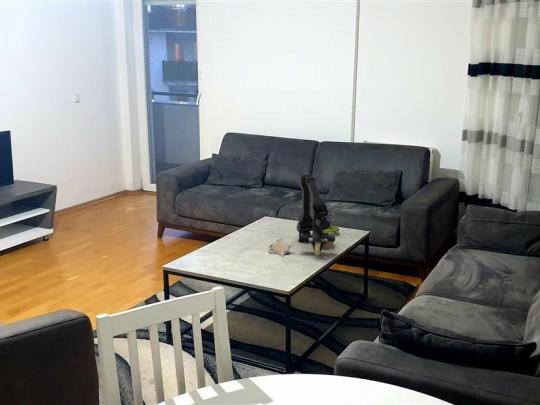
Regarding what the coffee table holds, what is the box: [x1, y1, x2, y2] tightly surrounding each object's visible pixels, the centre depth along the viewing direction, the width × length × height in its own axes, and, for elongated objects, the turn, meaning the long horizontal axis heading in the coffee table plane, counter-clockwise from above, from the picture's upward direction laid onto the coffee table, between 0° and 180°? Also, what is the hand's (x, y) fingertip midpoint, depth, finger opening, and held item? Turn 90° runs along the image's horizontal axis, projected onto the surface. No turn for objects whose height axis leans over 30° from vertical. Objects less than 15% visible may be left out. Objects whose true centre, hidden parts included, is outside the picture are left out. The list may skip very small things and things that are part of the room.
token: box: [314, 244, 321, 256], centre depth 332 cm, size 2×5×5 cm, turn 172°
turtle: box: [267, 237, 296, 257], centre depth 334 cm, size 16×10×10 cm, turn 69°
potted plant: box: [323, 209, 340, 234], centre depth 367 cm, size 14×13×15 cm
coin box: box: [315, 232, 335, 251], centre depth 344 cm, size 10×10×7 cm
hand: (317, 252), depth 333 cm, fingers closed on token, 2 cm apart
